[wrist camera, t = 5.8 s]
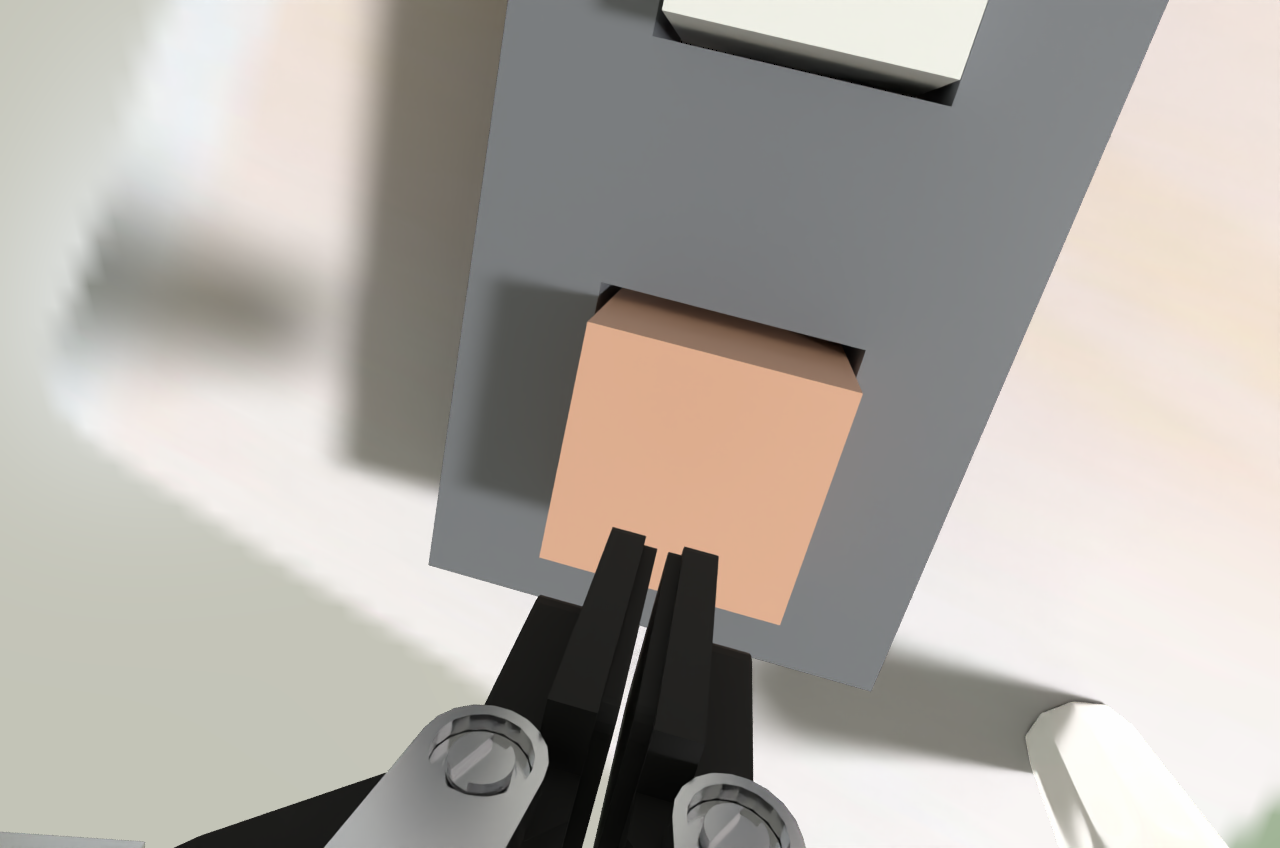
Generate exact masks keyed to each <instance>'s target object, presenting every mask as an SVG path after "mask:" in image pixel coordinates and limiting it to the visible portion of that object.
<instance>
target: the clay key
mask: <svg viewBox="0 0 1280 848" xmlns="http://www.w3.org/2000/svg"><path fill="white" fill-rule="evenodd" d="M862 395H863V393H862V390H861V388H860V386H859V384H858V381H857V379H856V377H855V374H854V372H853V370H852V368H851V365H850V363H849V361H848V359H847V356H846V354H845V352H844V349H843V347H842V345H841V344H840V343H836V342H832V341H828V340H824V339H820V338H816V337H813V336H809V335H805V334H801V333H797V332H793V331H789V330H785V329H781V328H778V327H774V326H770V325H766V324H762V323H758V322H754V321H750V320H747V319H743V318H739V317H735V316H731V315H727V314H723V313H719V312H716V311H712V310H708V309H704V308H700V307H696V306H692V305H688V304H685V303H681V302H677V301H673V300H669V299H665V298H661V297H657V296H654V295H650V294H646V293H642V292H638V291H634V290H630V289H626V288H622V289H620V290H619V291H618V292H617V293H616V294H615V295H614V296H613V297H612V298H611V299H610V300H609V301H608V302H607V303H606V304H605V305H604V306H603V307H602V308H601V309H600V310H599V311H598V312H597V313H596V314H595V315H594V316H593V317H592V318H591V319H590V320H589V321H588V322H587V326H586V331H585V336H584V341H583V346H582V351H581V356H580V360H579V365H578V370H577V375H576V380H575V385H574V390H573V395H572V400H571V404H570V409H569V414H568V419H567V424H566V429H565V434H564V439H563V444H562V448H561V453H560V458H559V463H558V468H557V473H556V478H555V483H554V488H553V492H552V497H551V502H550V507H549V512H548V517H547V522H546V527H545V532H544V536H543V541H542V546H541V551H540V556H539V557H540V558H543V559H547V560H550V561H554V562H557V563H561V564H564V565H568V566H571V567H575V568H578V569H582V570H586V571H589V572H593V573H595V572H596V569H597V567H598V564H599V561H600V559H601V556H602V553H603V551H604V548H605V545H606V543H607V540H608V538H609V535H610V532H611V530H612V527H615V528H619V529H623V530H626V531H630V532H634V533H637V534H641V535H645V536H646V540H645V544H644V545H646V546H649V547H653V548H657V553H656V557H655V562H654V566H653V570H652V574H651V579H650V583H649V587H648V588H649V589H653V590H656V591H657V590H658V587H659V583H660V579H661V576H662V572H663V569H664V565H665V561H666V558H667V555H668V552H671V553H675V554H679V555H681V554H682V551H683V548H684V546H685V547H688V548H692V549H696V550H699V551H703V552H707V553H710V554H714V555H718V556H719V562H718V576H717V589H716V603H715V607H717V608H720V609H724V610H727V611H731V612H734V613H738V614H741V615H745V616H748V617H752V618H755V619H759V620H763V621H766V622H770V623H773V624H777V625H780V624H781V621H782V618H783V615H784V613H785V610H786V607H787V604H788V601H789V599H790V596H791V593H792V590H793V587H794V585H795V582H796V579H797V576H798V574H799V571H800V568H801V565H802V562H803V560H804V557H805V554H806V551H807V548H808V546H809V543H810V540H811V537H812V534H813V532H814V529H815V526H816V523H817V520H818V518H819V515H820V512H821V509H822V507H823V504H824V501H825V498H826V495H827V493H828V490H829V487H830V484H831V481H832V479H833V476H834V473H835V470H836V467H837V465H838V462H839V459H840V456H841V454H842V451H843V448H844V445H845V442H846V440H847V437H848V434H849V431H850V428H851V426H852V423H853V420H854V417H855V414H856V412H857V409H858V406H859V403H860V400H861V398H862Z"/></svg>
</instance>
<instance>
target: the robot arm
mask: <svg viewBox="0 0 1280 848" xmlns="http://www.w3.org/2000/svg"><path fill="white" fill-rule="evenodd" d="M645 540H646V536H645V535H641V534H637V533H634V532H630V531H626V530H623V529H619V528H615V527H612V530H611V532H610V535H609V538H608V540H607V543H606V545H605V548H604V551H603V553H602V556H601V559H600V561H599V564H598V567H597V569H596V572H595V574H594V577H593V580H592V582H591V585H590V588H589V590H588V593H587V596H586V598H585V601H584V604H583V606H579V605H576V604H572V603H569V602H565V601H561V600H558V599H554V598H551V597H547V596H544V595H539V596H538V598H537V600H536V601H535V603H534V605H533V607H532V609H531V611H530V613H529V615H528V617H527V619H526V622H525V624H524V626H523V628H522V630H521V632H520V634H519V636H518V638H517V640H516V642H515V644H514V646H513V648H512V650H511V652H510V654H509V656H508V658H507V660H506V662H505V664H504V666H503V668H502V670H501V672H500V674H499V676H498V678H497V680H496V682H495V684H494V686H493V688H492V691H491V693H490V695H489V697H488V699H487V701H486V703H485V705H469V706H463V707H458V708H454V709H452V710H450V711H447V712H445V713H443V714H441V715H439V716H437V717H436V718H435V719H434V720H432V721H431V722H430V723H429V724H428V725H427V726H425V727H424V728H423V730H422V731H421V732H420V733H419V734H418V736H417V737H416V738H415V739H414V740H413V742H412V743H411V744H410V745H409V746H408V748H407V749H406V750H405V751H404V752H403V754H402V755H401V756H400V757H399V759H398V760H397V761H396V762H395V763H394V765H393V766H392V767H391V768H390V769H389V770H388V772H387V773H383V774H381V775H378V776H375V777H372V778H369V779H366V780H363V781H360V782H357V783H354V784H351V785H348V786H345V787H342V788H339V789H337V790H334V791H331V792H328V793H325V794H322V795H319V796H316V797H313V798H310V799H307V800H304V801H301V802H298V803H296V804H293V805H290V806H287V807H284V808H281V809H278V810H275V811H272V812H269V813H266V814H263V815H261V816H257V817H254V818H251V819H249V820H246V821H242V822H240V823H237V824H234V825H231V826H228V827H225V828H222V829H219V830H216V831H213V832H210V833H207V834H204V835H201V836H199V837H196V838H194V839H192V840H190V841H188V842H186V843H184V844H181V845H179V846H177V847H175V848H582V845H583V842H584V838H585V834H586V831H587V827H588V823H589V820H590V816H591V813H592V809H593V805H594V801H595V798H596V794H597V791H598V787H599V784H600V780H601V776H602V773H603V769H604V765H605V762H606V758H607V754H608V751H609V747H610V744H611V740H612V736H613V732H614V729H615V725H616V721H617V717H618V713H619V709H620V705H621V701H622V697H623V692H624V688H625V684H626V680H627V676H628V671H629V667H630V663H631V659H632V654H633V650H634V646H635V642H636V638H637V633H638V629H639V625H640V621H641V617H642V612H643V608H644V604H645V600H646V595H647V591H648V587H649V583H650V579H651V574H652V570H653V566H654V562H655V557H656V553H657V548H653V547H649V546H646V545H644V544H645ZM718 562H719V556H718V555H714V554H710V553H707V552H703V551H699V550H696V549H692V548H688V547H685V546H684V548H683V551H682V554H681V555H679V554H675V553H671V552H668V555H667V558H666V561H665V565H664V569H663V572H662V576H661V579H660V583H659V587H658V590H657V594H656V597H655V601H654V605H653V608H652V612H651V615H650V619H649V623H648V626H647V630H646V633H645V637H644V641H643V644H642V648H641V651H640V655H639V659H638V662H637V666H636V669H635V673H634V677H633V680H632V684H631V687H630V691H629V695H628V699H627V703H626V707H625V711H624V715H623V719H622V723H621V728H620V732H619V737H618V741H617V745H616V750H615V754H614V759H613V763H612V767H611V772H610V776H609V781H608V785H607V790H606V794H605V798H604V803H603V807H602V811H601V816H600V821H599V825H598V829H597V834H596V838H595V842H594V847H593V848H806V847H805V843H804V839H803V836H802V834H801V831H800V829H799V827H798V824H797V822H796V820H795V818H794V817H793V816H792V814H791V813H790V812H789V810H788V809H787V807H786V806H785V805H784V803H782V802H781V801H780V800H779V799H778V798H777V797H775V796H774V795H773V794H772V793H771V792H770V791H769V790H767V789H766V788H764V787H762V786H760V785H758V784H757V783H755V782H753V717H752V658H751V655H750V653H747V652H744V651H740V650H736V649H733V648H729V647H726V646H722V645H719V644H715V643H713V630H714V617H715V603H716V589H717V576H718ZM0 848H145V842H143V841H128V840H113V839H98V838H84V837H69V836H54V835H39V834H25V833H10V832H0Z"/></svg>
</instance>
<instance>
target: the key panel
mask: <svg viewBox="0 0 1280 848" xmlns="http://www.w3.org/2000/svg"><path fill="white" fill-rule="evenodd" d="M1168 1H1169V0H988V2H987V5H986V7H985V10H984V13H983V16H982V19H981V22H980V25H979V27H978V30H977V33H976V36H975V39H974V42H973V44H972V47H971V50H970V53H969V56H968V59H967V62H966V64H965V67H964V70H963V73H962V76H961V79H960V80H958V81H956V82H953V83H950V84H948V85H945V86H942V87H940V88H937V89H934V90H932V91H929V92H926V93H924V94H921V95H918V96H916V97H915V98H912V97H908V96H904V95H900V94H895V93H891V92H887V91H883V90H878V89H874V88H870V87H866V86H862V85H857V84H853V83H849V82H845V81H840V80H836V79H832V78H828V77H823V76H819V75H815V74H811V73H807V72H802V71H798V70H794V69H790V68H785V67H781V66H777V65H773V64H768V63H764V62H760V61H756V60H751V59H747V58H743V57H739V56H735V55H730V54H726V53H722V52H718V51H713V50H709V49H705V48H701V47H696V46H692V45H688V44H684V43H680V40H681V38H680V37H679V35H678V34H677V32H676V31H675V29H674V28H673V26H672V25H671V23H670V22H669V20H668V18H667V17H666V15H665V14H664V12H663V11H662V7H663V2H664V0H508V4H507V11H506V18H505V25H504V33H503V40H502V47H501V54H500V61H499V68H498V75H497V82H496V89H495V96H494V104H493V111H492V118H491V125H490V132H489V139H488V146H487V153H486V160H485V167H484V175H483V182H482V189H481V196H480V203H479V210H478V217H477V224H476V231H475V238H474V246H473V253H472V260H471V267H470V274H469V281H468V288H467V295H466V302H465V309H464V317H463V324H462V331H461V338H460V345H459V352H458V359H457V366H456V373H455V380H454V388H453V395H452V402H451V409H450V416H449V423H448V430H447V437H446V444H445V451H444V459H443V466H442V473H441V480H440V487H439V494H438V501H437V508H436V515H435V522H434V530H433V537H432V544H431V551H430V558H429V565H430V566H433V567H437V568H440V569H444V570H447V571H451V572H454V573H458V574H461V575H465V576H468V577H472V578H475V579H479V580H482V581H486V582H489V583H493V584H496V585H500V586H503V587H507V588H510V589H514V590H517V591H521V592H524V593H528V594H531V595H535V596H539V595H544V596H547V597H551V598H554V599H558V600H561V601H565V602H569V603H572V604H576V605H579V606H583V604H584V601H585V598H586V596H587V593H588V590H589V588H590V585H591V582H592V580H593V577H594V574H595V573H593V572H589V571H586V570H582V569H578V568H575V567H571V566H568V565H564V564H561V563H557V562H554V561H550V560H547V559H543V558H540V557H539V556H540V551H541V546H542V541H543V536H544V532H545V527H546V522H547V517H548V512H549V507H550V502H551V497H552V492H553V488H554V483H555V478H556V473H557V468H558V463H559V458H560V453H561V448H562V444H563V439H564V434H565V429H566V424H567V419H568V414H569V409H570V404H571V400H572V395H573V390H574V385H575V380H576V375H577V370H578V365H579V360H580V356H581V351H582V346H583V341H584V336H585V331H586V326H587V322H588V321H589V320H590V319H591V318H592V317H593V316H594V315H595V314H596V313H597V312H598V311H599V310H600V309H601V308H602V307H603V306H604V305H605V304H606V303H607V302H608V301H609V300H610V299H611V298H612V297H613V296H614V295H615V294H616V293H617V292H618V291H619V290H620V289H622V288H626V289H630V290H634V291H638V292H642V293H646V294H650V295H654V296H657V297H661V298H665V299H669V300H673V301H677V302H681V303H685V304H688V305H692V306H696V307H700V308H704V309H708V310H712V311H716V312H719V313H723V314H727V315H731V316H735V317H739V318H743V319H747V320H750V321H754V322H758V323H762V324H766V325H770V326H774V327H778V328H781V329H785V330H789V331H793V332H797V333H801V334H805V335H809V336H813V337H816V338H820V339H824V340H828V341H832V342H836V343H840V344H841V345H842V347H843V349H844V352H845V354H846V356H847V359H848V361H849V363H850V365H851V368H852V370H853V372H854V374H855V377H856V379H857V381H858V384H859V386H860V388H861V390H862V393H863V395H862V398H861V400H860V403H859V406H858V409H857V412H856V414H855V417H854V420H853V423H852V426H851V428H850V431H849V434H848V437H847V440H846V442H845V445H844V448H843V451H842V454H841V456H840V459H839V462H838V465H837V467H836V470H835V473H834V476H833V479H832V481H831V484H830V487H829V490H828V493H827V495H826V498H825V501H824V504H823V507H822V509H821V512H820V515H819V518H818V520H817V523H816V526H815V529H814V532H813V534H812V537H811V540H810V543H809V546H808V548H807V551H806V554H805V557H804V560H803V562H802V565H801V568H800V571H799V574H798V576H797V579H796V582H795V585H794V587H793V590H792V593H791V596H790V599H789V601H788V604H787V607H786V610H785V613H784V615H783V618H782V621H781V624H780V625H777V624H773V623H770V622H766V621H763V620H759V619H755V618H752V617H748V616H745V615H741V614H738V613H734V612H731V611H727V610H724V609H720V608H717V607H715V617H714V630H713V643H715V644H719V645H722V646H726V647H729V648H733V649H736V650H740V651H744V652H747V653H750V655H751V657H752V658H755V659H759V660H762V661H766V662H769V663H773V664H776V665H780V666H783V667H787V668H790V669H794V670H797V671H801V672H804V673H808V674H811V675H815V676H818V677H822V678H825V679H829V680H832V681H836V682H839V683H843V684H846V685H850V686H853V687H857V688H860V689H864V690H867V691H872V688H873V686H874V684H875V681H876V679H877V677H878V674H879V672H880V670H881V667H882V665H883V663H884V660H885V658H886V656H887V653H888V651H889V649H890V646H891V644H892V642H893V640H894V637H895V635H896V633H897V630H898V628H899V626H900V623H901V621H902V619H903V616H904V614H905V612H906V609H907V607H908V605H909V602H910V600H911V598H912V595H913V593H914V591H915V588H916V586H917V584H918V581H919V579H920V577H921V574H922V572H923V570H924V568H925V565H926V563H927V561H928V558H929V556H930V554H931V551H932V549H933V547H934V544H935V542H936V540H937V537H938V535H939V533H940V530H941V528H942V526H943V523H944V521H945V519H946V516H947V514H948V512H949V509H950V507H951V505H952V502H953V500H954V498H955V496H956V493H957V491H958V489H959V486H960V484H961V482H962V479H963V477H964V475H965V472H966V470H967V468H968V465H969V463H970V461H971V458H972V456H973V454H974V451H975V449H976V447H977V444H978V442H979V440H980V437H981V435H982V433H983V430H984V428H985V426H986V424H987V421H988V419H989V417H990V414H991V412H992V410H993V407H994V405H995V403H996V400H997V398H998V396H999V393H1000V391H1001V389H1002V386H1003V384H1004V382H1005V379H1006V377H1007V375H1008V372H1009V370H1010V368H1011V365H1012V363H1013V361H1014V359H1015V356H1016V354H1017V352H1018V349H1019V347H1020V345H1021V342H1022V340H1023V338H1024V335H1025V333H1026V331H1027V328H1028V326H1029V324H1030V321H1031V319H1032V317H1033V314H1034V312H1035V310H1036V307H1037V305H1038V303H1039V300H1040V298H1041V296H1042V293H1043V291H1044V289H1045V287H1046V284H1047V282H1048V280H1049V277H1050V275H1051V273H1052V270H1053V268H1054V266H1055V263H1056V261H1057V259H1058V256H1059V254H1060V252H1061V249H1062V247H1063V245H1064V242H1065V240H1066V238H1067V235H1068V233H1069V231H1070V228H1071V226H1072V224H1073V221H1074V219H1075V217H1076V215H1077V212H1078V210H1079V208H1080V205H1081V203H1082V201H1083V198H1084V196H1085V194H1086V191H1087V189H1088V187H1089V184H1090V182H1091V180H1092V177H1093V175H1094V173H1095V170H1096V168H1097V166H1098V163H1099V161H1100V159H1101V156H1102V154H1103V152H1104V150H1105V147H1106V145H1107V143H1108V140H1109V138H1110V136H1111V133H1112V131H1113V129H1114V126H1115V124H1116V122H1117V119H1118V117H1119V115H1120V112H1121V110H1122V108H1123V105H1124V103H1125V101H1126V98H1127V96H1128V94H1129V91H1130V89H1131V87H1132V84H1133V82H1134V80H1135V78H1136V75H1137V73H1138V71H1139V68H1140V66H1141V64H1142V61H1143V59H1144V57H1145V54H1146V52H1147V50H1148V47H1149V45H1150V43H1151V40H1152V38H1153V36H1154V33H1155V31H1156V29H1157V26H1158V24H1159V22H1160V19H1161V17H1162V15H1163V12H1164V10H1165V8H1166V6H1167V3H1168ZM656 594H657V591H656V590H653V589H649V588H648V591H647V595H646V600H645V604H644V608H643V612H642V617H641V621H640V626H643V627H647V626H648V623H649V619H650V615H651V612H652V608H653V605H654V601H655V597H656Z"/></svg>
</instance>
